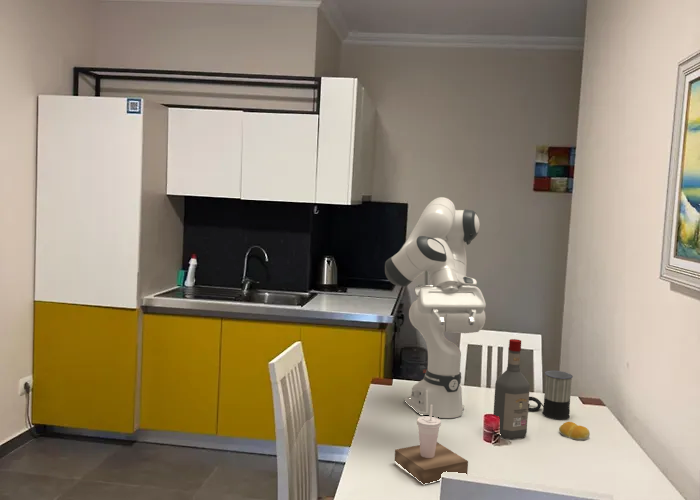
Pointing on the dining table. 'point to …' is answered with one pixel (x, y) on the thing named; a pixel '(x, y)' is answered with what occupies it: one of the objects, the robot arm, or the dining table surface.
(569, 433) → the bread roll
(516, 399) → the liquor
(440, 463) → the plinth
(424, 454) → the smoothie
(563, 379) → the milk frother
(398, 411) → the dining table surface
